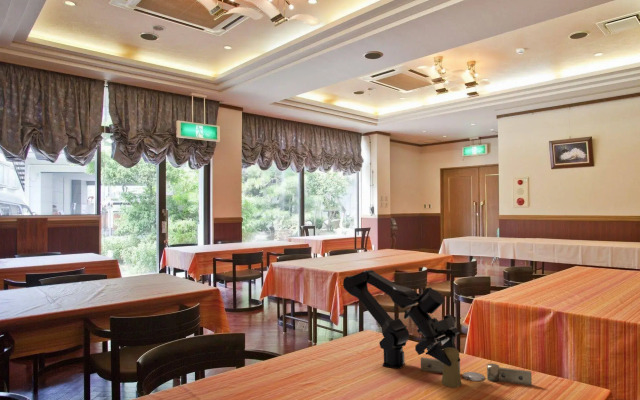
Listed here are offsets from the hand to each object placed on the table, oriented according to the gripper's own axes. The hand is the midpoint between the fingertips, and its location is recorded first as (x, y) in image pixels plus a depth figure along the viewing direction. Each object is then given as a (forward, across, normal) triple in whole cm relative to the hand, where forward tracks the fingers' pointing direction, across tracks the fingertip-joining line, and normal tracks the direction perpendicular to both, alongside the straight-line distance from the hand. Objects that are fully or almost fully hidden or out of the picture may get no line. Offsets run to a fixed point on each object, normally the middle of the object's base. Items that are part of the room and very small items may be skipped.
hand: (455, 363), depth 130 cm
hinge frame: (+5, +10, +4) cm, 12 cm away
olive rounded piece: (+4, 0, +6) cm, 7 cm away
